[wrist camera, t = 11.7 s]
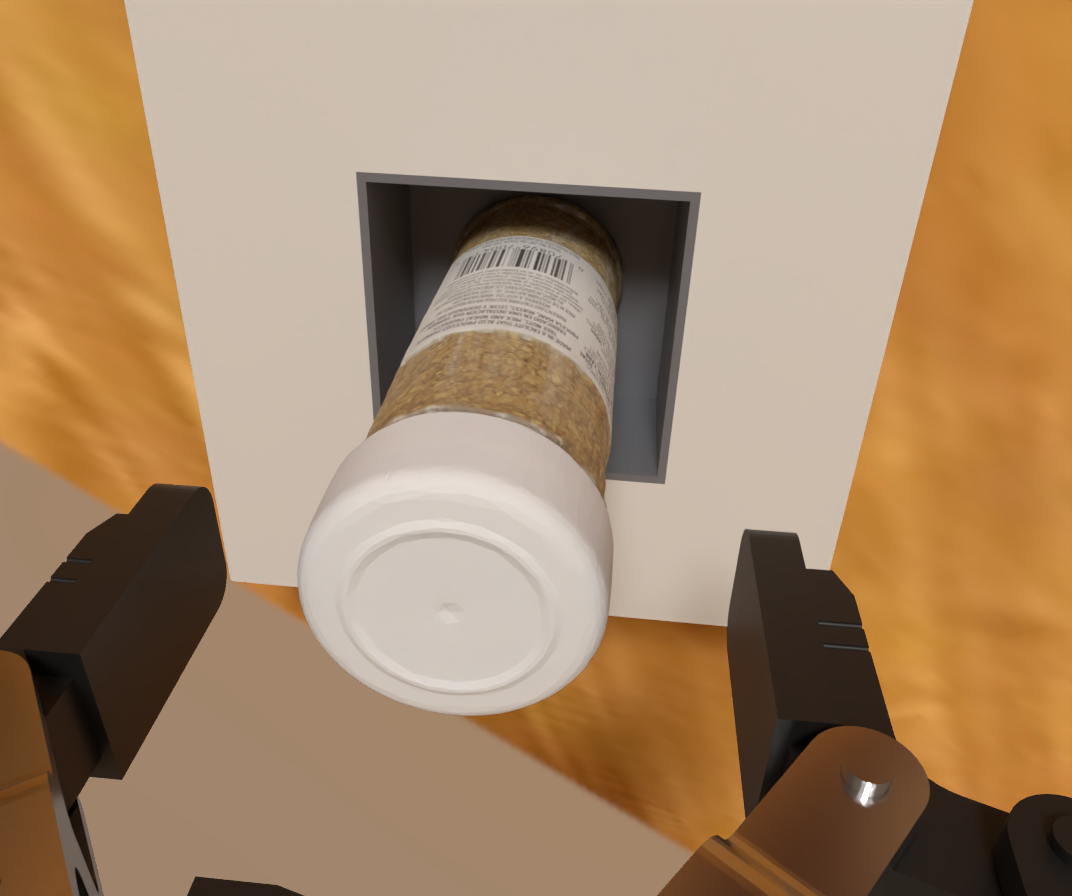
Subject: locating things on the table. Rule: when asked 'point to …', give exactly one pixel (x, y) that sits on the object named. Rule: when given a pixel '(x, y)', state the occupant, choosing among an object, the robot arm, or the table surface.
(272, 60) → the socket block
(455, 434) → the sprinkles bottle
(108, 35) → the table surface
